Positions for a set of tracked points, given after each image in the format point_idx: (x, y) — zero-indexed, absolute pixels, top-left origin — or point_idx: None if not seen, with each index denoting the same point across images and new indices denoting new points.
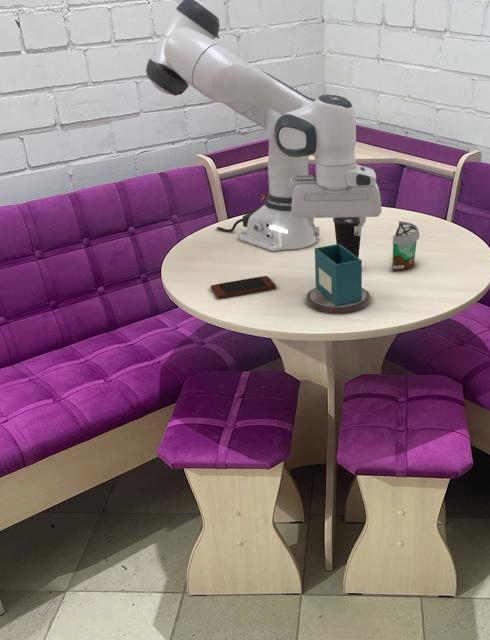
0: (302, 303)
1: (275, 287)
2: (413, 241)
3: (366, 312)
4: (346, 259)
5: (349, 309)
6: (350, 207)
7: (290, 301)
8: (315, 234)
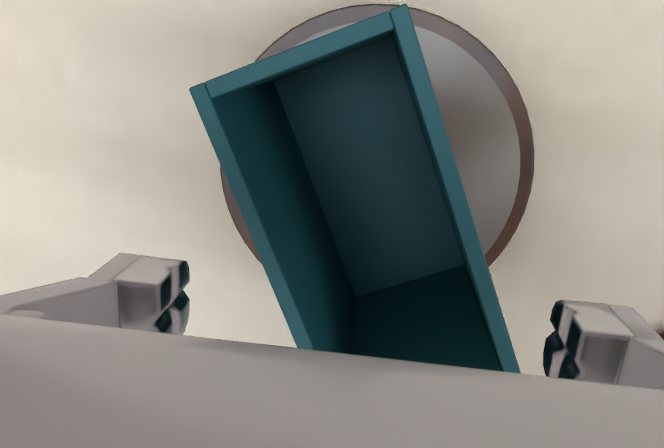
0: (553, 154)
1: (660, 335)
2: None
3: (250, 10)
4: (303, 273)
5: (332, 11)
6: (37, 421)
7: (609, 185)
8: (606, 307)
